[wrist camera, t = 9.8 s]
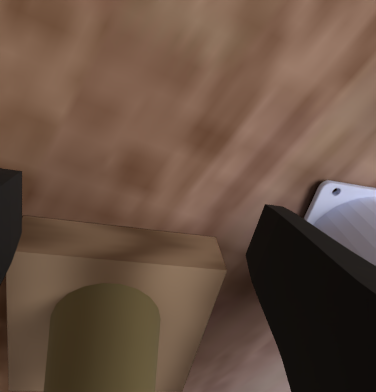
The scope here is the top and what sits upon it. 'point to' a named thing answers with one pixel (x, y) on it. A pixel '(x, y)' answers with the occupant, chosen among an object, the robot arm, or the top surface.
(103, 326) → the cork
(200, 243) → the walnut block
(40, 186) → the top surface
